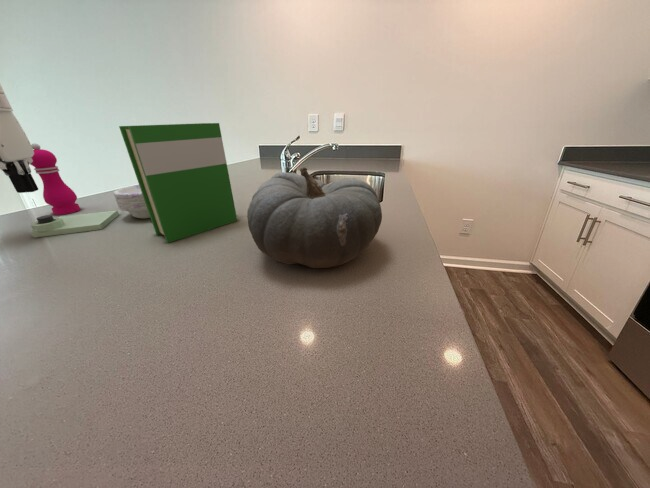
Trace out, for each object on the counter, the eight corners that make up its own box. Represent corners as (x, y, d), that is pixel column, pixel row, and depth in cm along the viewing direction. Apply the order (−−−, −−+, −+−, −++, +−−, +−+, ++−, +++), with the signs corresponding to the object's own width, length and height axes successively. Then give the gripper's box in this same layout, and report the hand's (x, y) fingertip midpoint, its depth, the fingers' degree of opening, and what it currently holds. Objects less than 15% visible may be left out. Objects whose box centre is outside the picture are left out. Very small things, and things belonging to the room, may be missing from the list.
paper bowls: (172, 202, 87) (165, 179, 83) (190, 212, 77) (183, 186, 73) (118, 214, 77) (107, 188, 73) (130, 227, 67) (119, 197, 64)
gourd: (258, 218, 63) (260, 144, 54) (357, 228, 67) (373, 160, 58) (237, 286, 42) (233, 184, 33) (382, 295, 46) (414, 206, 37)
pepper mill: (46, 214, 79) (9, 144, 70) (74, 207, 85) (43, 142, 76) (60, 216, 76) (23, 144, 68) (87, 209, 82) (57, 142, 74)
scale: (31, 238, 62) (24, 227, 61) (59, 221, 73) (54, 211, 71) (101, 229, 66) (96, 218, 65) (119, 214, 77) (115, 205, 75)
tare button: (36, 225, 63) (33, 219, 62) (43, 221, 65) (40, 215, 64) (51, 223, 63) (47, 217, 63) (57, 220, 66) (54, 214, 65)
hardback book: (168, 242, 58) (129, 126, 47) (156, 234, 63) (118, 126, 52) (237, 220, 70) (219, 123, 59) (223, 214, 74) (204, 123, 64)
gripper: (-13, 104, 58) (29, 185, 66) (-81, 100, 45) (-19, 201, 53) (30, 105, 60) (65, 183, 68) (-24, 101, 47) (27, 198, 55)
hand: (28, 191), depth 61 cm, fingers closed
